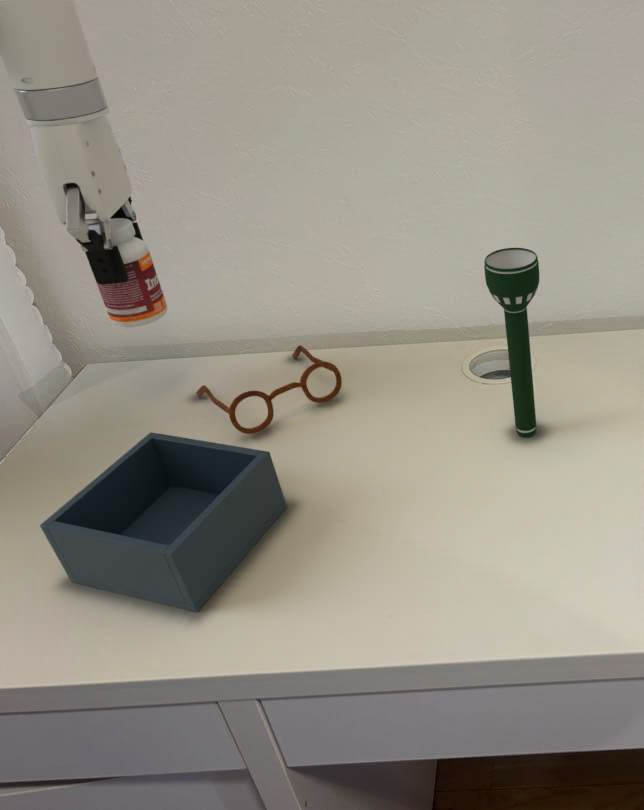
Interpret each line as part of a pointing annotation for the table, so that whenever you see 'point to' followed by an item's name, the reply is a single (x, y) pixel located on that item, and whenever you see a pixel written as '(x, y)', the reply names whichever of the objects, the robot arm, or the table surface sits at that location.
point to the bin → (167, 519)
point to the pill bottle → (132, 280)
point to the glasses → (277, 392)
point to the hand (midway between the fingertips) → (123, 268)
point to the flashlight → (516, 323)
